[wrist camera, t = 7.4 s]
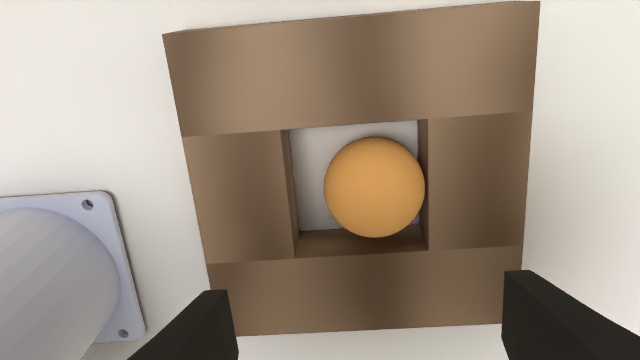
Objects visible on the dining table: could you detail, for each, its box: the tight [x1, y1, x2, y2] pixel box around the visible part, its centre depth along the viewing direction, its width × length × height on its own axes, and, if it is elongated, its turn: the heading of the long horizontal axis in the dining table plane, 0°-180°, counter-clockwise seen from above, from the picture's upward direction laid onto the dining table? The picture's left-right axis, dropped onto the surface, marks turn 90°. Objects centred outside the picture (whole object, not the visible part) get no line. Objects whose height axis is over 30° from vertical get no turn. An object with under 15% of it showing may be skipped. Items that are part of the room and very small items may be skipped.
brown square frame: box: [162, 1, 540, 337], centre depth 20 cm, size 13×13×2 cm
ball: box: [324, 137, 425, 238], centre depth 19 cm, size 4×4×4 cm
